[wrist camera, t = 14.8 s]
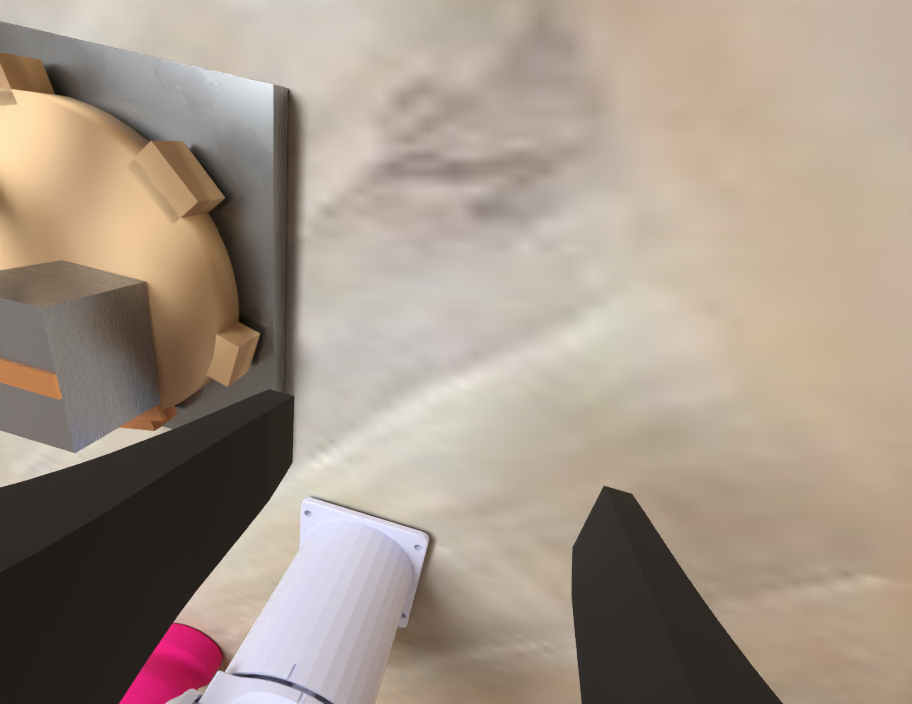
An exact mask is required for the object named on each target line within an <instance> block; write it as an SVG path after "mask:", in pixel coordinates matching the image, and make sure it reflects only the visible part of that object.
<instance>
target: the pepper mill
mask: <svg viewBox="0 0 912 704" xmlns="http://www.w3.org/2000/svg"><path fill="white" fill-rule="evenodd" d="M221 662H222V653H221V651H220V649H219V648H218V646H217V645H216V644H215V643H214V642H213V641H212V640H211V639H210V638H209V637H207V636H206V635H205V634H203V633H201V632H200V631H198V630H196V629H194V628H191V627H189V626H186V625H181V624H176V623H172V625H171V626H170V628H169V629H168V631H167V632H166V634H165V635H164V637H163V638H162V640H161V641H160V643H159V644H158V646H157V647H156V649H155V650H154V651H153V653H152V654H151V656H150V657H149V659H148V660H147V662H146V663H145V665H144V666H143V668H142V669H141V671H140V672H139V674H138V675H137V677H136V679H135V680H134V682H133V683H132V685H131V686H130V688H129V689H128V691H127V692H126V694H125V695H124V697H123V699H122V700H121V702H120V703H119V704H166V703H167V702H168V701H170V700H172V699H174V698H176V697H178V696H180V695H182V694H183V693H184V692H186V691H187V690H189V689H195V690H197V691H198V688H200V687H204V686H206V685H207V684H208V683H209V682H210V681H211V679H212V678H213V676H214V674H215V673H216V671H217V670H218V668H219V666H220V665H221Z"/></svg>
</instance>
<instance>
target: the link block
mask: <svg viewBox="0 0 912 704" xmlns="http://www.w3.org/2000/svg"><path fill="white" fill-rule="evenodd" d="M160 403H161V400H160V392H159V384H158V376H157V368H156V360H155V352H154V344H153V336H152V328H151V320H150V312H149V304H148V296H147V288H146V281H142V280H138V279H134V278H130V277H126V276H123V275H119V274H115V273H111V272H107V271H103V270H99V269H95V268H91V267H87V266H83V265H79V264H75V263H71V262H67V261H63V260H59V261H53V262H47V263H41V264H35V265H29V266H23V267H17V268H11V269H5V270H0V430H1V431H4V432H7V433H11V434H14V435H17V436H21V437H24V438H27V439H30V440H34V441H37V442H40V443H44V444H47V445H50V446H53V447H57V448H60V449H63V450H67V451H70V452H73V453H76V452H78V451H79V450H81V449H83V448H85V447H86V446H88V445H90V444H91V443H93V442H95V441H97V440H98V439H100V438H102V437H103V436H105V435H107V434H108V433H110V432H112V431H114V430H115V429H117V428H119V427H120V426H122V425H124V424H126V423H127V422H129V421H131V420H132V419H134V418H136V417H138V416H139V415H141V414H143V413H144V412H146V411H148V410H150V409H151V408H153V407H155V406H156V405H158V404H160Z"/></svg>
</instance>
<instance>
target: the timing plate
mask: <svg viewBox="0 0 912 704" xmlns="http://www.w3.org/2000/svg"><path fill="white" fill-rule="evenodd" d="M0 52H3V53H8V54H13V55H19V56H24V57H30V58H35V59H40V60H42V62H43V65H44V68H45V70H46V73H47V75H48V78H49V81H50V83H51V86H52V88H53V91H54V94H55V95H61V96H66V97H70V98H73V99H76V100H79V101H82V102H85V103H88V104H90V105H92V106H94V107H96V108H98V109H100V110H103V111H105V112H107V113H109V114H111V115H112V116H114V117H116V118H117V119H119V120H120V121H122V122H123V123H125V124H126V125H128V126H129V127H131V128H132V129H134V130H135V131H136V132H138V133H139V134H140V135H141V136H142V137H144V138H145V139H146V140H147V141H149V142H150V141H183V142H184V143H185V144H186V146H187V147H188V148H189V150H190V151H191V152H192V154H193V155H194V156H195V158H196V159H197V161H198V162H199V163H200V165H201V166H202V167H203V169H204V170H205V171H206V173H207V174H208V175H209V177H210V178H211V179H212V181H213V182H214V183H215V185H216V186H217V187H218V189H219V190H220V191H221V193H222V194H223V195H224V197H225V199H224V200H223V201H221V202H220V203H219V204H218V205H217V206H216V207H215V208H213V209H212V210H211V211H210V212H209V215H210V217H211V218H212V220H213V222H214V224H215V226H216V227H217V229H218V232H219V234H220V236H221V238H222V241H223V243H224V245H225V247H226V250H227V253H228V256H229V259H230V262H231V265H232V268H233V272H234V277H235V281H236V286H237V291H238V303H239V322H240V323H242V324H244V325H246V326H247V327H249V328H251V329H253V330H255V331H256V332H258V333H260V336H259V339H258V342H257V345H256V349H255V352H254V355H253V358H252V361H251V365H250V368H249V371H248V372H247V373H246V374H244V375H243V376H242V377H240V378H239V379H238V380H236V381H235V382H234V383H232V384H231V385H230V386H228V387H227V386H225V385H223V384H221V383H220V382H218V381H216V380H214V379H213V380H211V381H210V382H209V383H208V384H206V385H205V386H204V387H202V388H201V389H199V390H198V391H196V392H195V393H193V394H192V395H191V396H189V397H188V398H186V399H185V400H183V401H182V402H180V403H178V404H176V405H174V406H175V409H176V411H177V414H178V415H176V416H175V417H173V418H172V419H171V420H169V421H168V422H167V423H165V424H164V425H162V426H164V427H167V428H171V429H175V428H177V427H180V426H182V425H185V424H187V423H189V422H192V421H194V420H197V419H199V418H201V417H204V416H206V415H209V414H211V413H213V412H216V411H218V410H220V409H223V408H225V407H227V406H230V405H232V404H234V403H237V402H239V401H241V400H244V399H246V398H248V397H251V396H253V395H256V394H258V393H261V392H264V391H266V390H269V389H271V390H274V391H278V392H281V393H284V382H285V306H286V229H287V153H288V88H285V87H281V86H277V85H273V84H269V83H265V82H260V81H256V80H252V79H247V78H243V77H239V76H234V75H230V74H226V73H221V72H217V71H213V70H208V69H204V68H200V67H195V66H191V65H187V64H182V63H178V62H174V61H169V60H165V59H161V58H156V57H152V56H148V55H143V54H139V53H135V52H130V51H126V50H122V49H117V48H113V47H109V46H104V45H100V44H96V43H91V42H87V41H83V40H78V39H74V38H70V37H65V36H61V35H57V34H52V33H48V32H44V31H40V30H35V29H31V28H27V27H22V26H18V25H14V24H9V23H5V22H1V21H0Z"/></svg>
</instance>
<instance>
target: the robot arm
mask: <svg viewBox="0 0 912 704" xmlns="http://www.w3.org/2000/svg"><path fill="white" fill-rule="evenodd" d="M293 420H294V396H291V395H288V394H284V393H281V392H278V391H274V390H271V389H269V390H266V391H264V392H261V393H258V394H256V395H253V396H251V397H248V398H246V399H244V400H241V401H239V402H237V403H234V404H232V405H230V406H227V407H225V408H223V409H220V410H218V411H216V412H213V413H211V414H209V415H206V416H204V417H201V418H199V419H197V420H194V421H192V422H189V423H187V424H185V425H182V426H180V427H177V428H175V429H173V430H170V431H168V432H165V433H162V434H160V435H157V436H154V437H152V438H149V439H147V440H144V441H141V442H139V443H136V444H133V445H131V446H128V447H125V448H123V449H120V450H118V451H115V452H112V453H110V454H107V455H104V456H101V457H98V458H95V459H92V460H89V461H86V462H83V463H80V464H77V465H74V466H71V467H68V468H65V469H62V470H58V471H55V472H52V473H49V474H46V475H42V476H39V477H36V478H33V479H29V480H26V481H22V482H19V483H15V484H12V485H8V486H4V487H0V704H119V703H120V702H121V700H122V699H123V697H124V695H125V694H126V692H127V691H128V689H129V688H130V686H131V685H132V683H133V682H134V680H135V679H136V677H137V675H138V674H139V672H140V671H141V669H142V668H143V666H144V665H145V663H146V662H147V660H148V659H149V657H150V656H151V654H152V653H153V651H154V650H155V649H156V647H157V646H158V644H159V643H160V641H161V640H162V638H163V637H164V635H165V634H166V632H167V631H168V629H169V628H170V626H171V625H172V623H173V622H174V621H175V619H176V618H177V616H178V615H179V613H180V612H181V611H182V609H183V608H184V607H185V605H186V604H187V603H188V601H189V600H190V599H191V597H192V596H193V595H194V593H195V592H196V591H197V589H198V588H199V587H200V586H201V584H202V583H203V582H204V581H205V580H206V578H207V577H208V576H209V575H210V573H211V572H212V571H213V570H214V568H215V567H216V566H217V565H218V564H219V562H220V561H221V560H222V559H223V557H224V556H225V555H226V554H227V552H228V551H229V550H230V549H231V547H232V546H233V545H234V544H235V543H236V541H237V540H238V539H239V538H240V536H241V535H242V534H243V533H244V531H245V530H246V529H247V528H248V526H249V525H250V524H251V523H252V521H253V520H254V519H255V518H256V516H257V515H258V514H259V513H260V511H261V510H262V509H263V508H264V506H265V505H266V504H267V502H268V501H269V500H270V498H271V497H272V495H273V493H274V492H275V490H276V489H277V487H278V486H279V484H280V482H281V481H282V479H283V478H284V476H285V474H286V473H287V471H288V469H289V468H290V466H291V464H292V458H293ZM428 543H429V536H428V535H427V534H426V533H424V532H422V531H419V530H415V529H412V528H409V527H406V526H402V525H399V524H396V523H393V522H389V521H386V520H383V519H380V518H376V517H373V516H370V515H367V514H363V513H360V512H357V511H354V510H350V509H347V508H344V507H341V506H337V505H334V504H331V503H327V502H324V501H321V500H318V499H314V498H310V497H308V498H305V499H304V501H303V502H302V504H301V522H300V545H299V551H298V553H297V554H296V556H295V558H294V559H293V561H292V563H291V564H290V566H289V568H288V569H287V571H286V572H285V574H284V576H283V577H282V579H281V581H280V582H279V584H278V586H277V587H276V589H275V591H274V592H273V594H272V595H271V597H270V599H269V600H268V602H267V604H266V605H265V607H264V609H263V610H262V612H261V613H260V615H259V617H258V618H257V620H256V622H255V623H254V625H253V627H252V628H251V630H250V632H249V633H248V635H247V636H246V638H245V640H244V641H243V643H242V645H241V646H240V648H239V650H238V651H237V653H236V654H235V656H234V658H233V659H232V661H231V663H230V664H229V666H228V668H227V669H226V671H225V672H223V671H218V672H217V673H216V675H215V676H214V678H213V679H212V681H211V683H210V684H209V686H208V688H207V689H206V691H205V692H204V694H203V693H201V692H199V691H197V690H195V689H189V690H187V691H186V692H184V693H183V694H182V695H180V696H178V697H176V698H174V699H172V700H170V701H168V702H167V703H166V704H375V701H376V698H377V694H378V691H379V688H380V684H381V681H382V678H383V674H384V671H385V668H386V665H387V661H388V658H389V655H390V651H391V648H392V645H393V641H394V638H395V635H396V631H397V628H398V627H399V628H404V627H406V626H407V623H408V620H409V616H410V612H411V608H412V605H413V601H414V597H415V593H416V589H417V585H418V582H419V578H420V574H421V570H422V566H423V562H424V559H425V555H426V551H427V547H428ZM572 606H573V617H574V628H575V638H576V648H577V659H578V669H579V679H580V689H581V699H582V704H783V703H782V702H781V701H780V699H779V698H778V697H777V696H776V695H775V693H774V692H773V691H772V690H771V689H770V687H769V686H768V685H767V684H766V682H765V681H764V680H763V679H762V677H761V676H760V675H759V674H758V672H757V671H756V670H755V669H754V667H753V666H752V665H751V664H750V662H749V661H748V660H747V658H746V657H745V656H744V654H743V653H742V652H741V650H740V649H739V648H738V646H737V645H736V644H735V642H734V641H733V640H732V638H731V637H730V636H729V634H728V633H727V632H726V630H725V629H724V628H723V626H722V625H721V624H720V622H719V621H718V620H717V618H716V617H715V615H714V614H713V613H712V611H711V610H710V609H709V607H708V606H707V604H706V603H705V602H704V600H703V599H702V597H701V596H700V594H699V593H698V592H697V590H696V589H695V587H694V586H693V584H692V583H691V581H690V580H689V579H688V577H687V576H686V574H685V573H684V571H683V570H682V568H681V567H680V565H679V564H678V562H677V561H676V559H675V558H674V556H673V555H672V553H671V552H670V550H669V549H668V547H667V546H666V544H665V543H664V541H663V540H662V538H661V537H660V535H659V534H658V532H657V531H656V529H655V528H654V526H653V524H652V523H651V521H650V520H649V518H648V517H647V515H646V514H645V512H644V511H643V509H642V508H641V506H640V505H639V503H638V502H637V500H636V499H635V497H634V496H633V495H632V494H631V493H627V492H624V491H620V490H617V489H613V488H610V487H607V486H604V487H603V489H602V491H601V493H600V495H599V497H598V499H597V500H596V502H595V504H594V506H593V508H592V510H591V512H590V514H589V516H588V518H587V520H586V522H585V524H584V526H583V528H582V530H581V532H580V534H579V536H578V538H577V540H576V542H575V544H574V546H573V553H572Z"/></svg>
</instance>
